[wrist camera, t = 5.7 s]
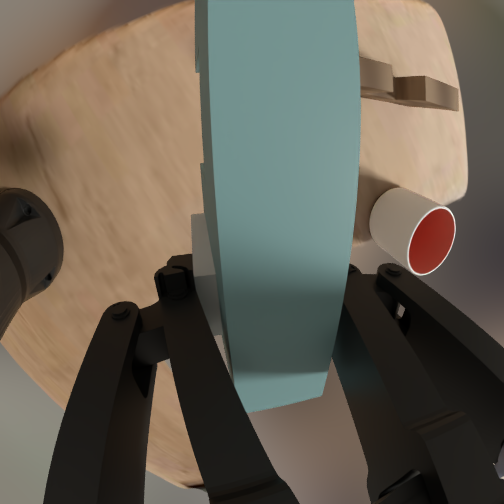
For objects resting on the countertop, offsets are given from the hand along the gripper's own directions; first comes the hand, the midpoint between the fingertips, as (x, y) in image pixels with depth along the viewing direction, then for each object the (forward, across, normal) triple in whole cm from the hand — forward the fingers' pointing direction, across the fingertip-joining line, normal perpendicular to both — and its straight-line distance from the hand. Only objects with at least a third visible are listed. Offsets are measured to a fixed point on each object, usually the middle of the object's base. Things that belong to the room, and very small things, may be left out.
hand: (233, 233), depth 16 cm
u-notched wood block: (+18, +20, +12) cm, 30 cm away
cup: (+19, +27, -7) cm, 34 cm away
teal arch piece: (+1, 0, +6) cm, 7 cm away
